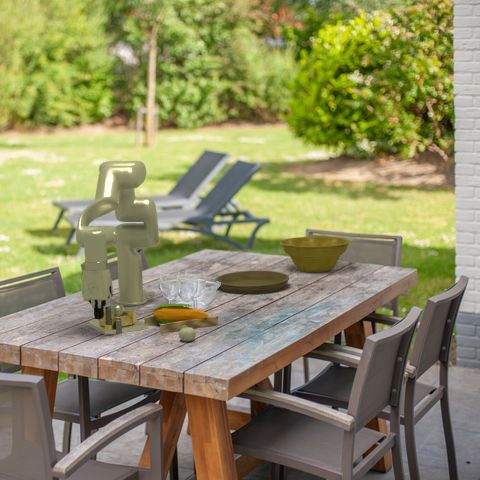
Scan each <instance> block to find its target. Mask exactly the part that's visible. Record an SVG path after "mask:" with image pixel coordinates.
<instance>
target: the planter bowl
mask: <svg viewBox="0 0 480 480" xmlns="http://www.w3.org/2000/svg"><path fill="white" fill-rule="evenodd" d="M350 243H351V240H350V239H347V238H343V237H336V236H335V237H334V236H301V237H291V238H290V237H289V238H286V239H285V238H284V239H282V240H280V241H279V243H278V244H280V245H281V246H282V248H283V251H284V252H285V254H287V255H288V256H290V258H291V260H292V262H293V264H294V266H295V267H296V269H298V270H299V271H300V272H307V273H323V272H324V273H325V272H329V271H331V270H332V269H333V268H335V266H337V263H338V261H339V260H340V257H341V256H342V254H344V253H345V252H346V251H347V248H348V247H349V244H350Z"/></svg>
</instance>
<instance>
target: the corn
mask: <svg viewBox="0 0 480 480" xmlns="http://www.w3.org/2000/svg"><path fill="white" fill-rule="evenodd" d="M192 306H193V305H192V304H189V303H188V304H186V303H175V302H174V303H164V304H161V305H159V306H157V307H156V308H155V309H154V310H153V316H154V317H155V318H156V319H157V320H158V321H160V322H162V323H163V324H166V323H172V322H179V321H185V320H192V319H203V318H207V317H209V316H208V315H209V314H208V313H206V312H205V311H203V310H202V309H201V310H198V309H199V308H198V309H197V308H193V307H192Z"/></svg>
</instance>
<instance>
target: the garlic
mask: <svg viewBox="0 0 480 480" xmlns="http://www.w3.org/2000/svg"><path fill="white" fill-rule="evenodd" d="M183 327H186V328H183ZM182 328H183V329H181V330H180V331H178V337H179V339H180V340H181V341H183V342H188V343H189V342H193V341H194V340H195V339H196V337H197V336H196V335H197V334H196V331H195V328H194V329H192V328H190V327H187V326H186V325H184V326H182Z"/></svg>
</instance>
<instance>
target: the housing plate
mask: <svg viewBox="0 0 480 480" xmlns="http://www.w3.org/2000/svg"><path fill="white" fill-rule="evenodd" d="M110 307H111V311H112V313H117V317H120V316H123V305H122V304H116V303H114V304H111V305H110ZM115 321H116V328H114V329H113V330H112V331H105V326H103V325H100V324H99V320H93V321H88V323H87V324H88V327H89V328H92V329H93V330H95V332H98V333H100V334H102V335H103V336H109V335H115V334H116V335H118V334H123V333H130V332H136V331H143V330H147V329H149V326H148V324H146V323H145V322H144V321H141V320H139V319H137V318H136V322H135V323H134V324H132V325H127V326H122V320H121V319H117V320H115Z"/></svg>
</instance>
